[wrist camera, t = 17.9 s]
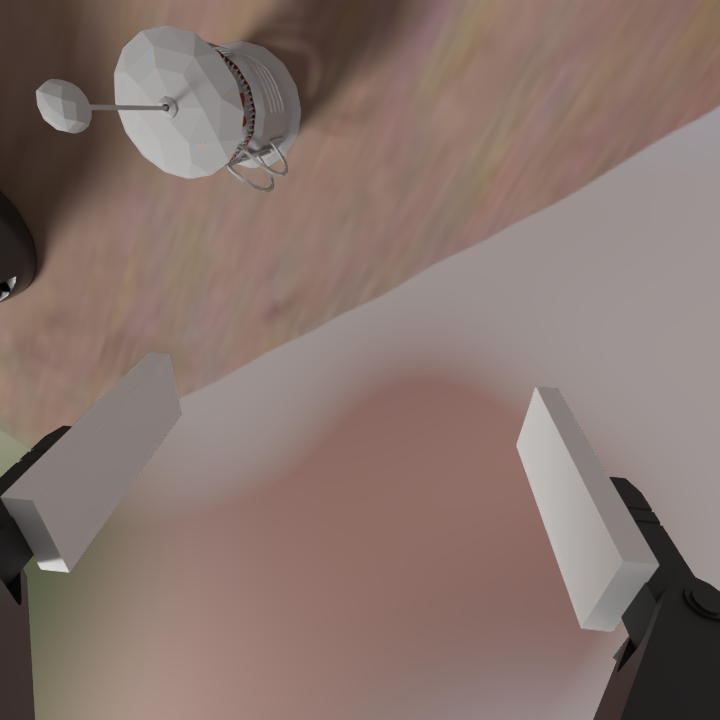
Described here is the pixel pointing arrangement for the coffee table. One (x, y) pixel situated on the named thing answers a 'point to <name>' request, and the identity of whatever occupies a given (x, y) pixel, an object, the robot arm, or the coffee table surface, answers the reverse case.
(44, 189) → the coffee table surface
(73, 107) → the white plunger jar
